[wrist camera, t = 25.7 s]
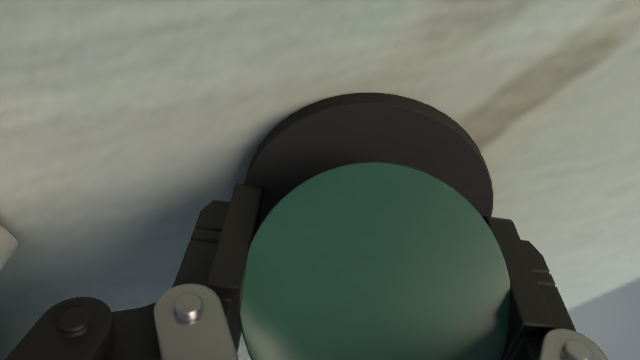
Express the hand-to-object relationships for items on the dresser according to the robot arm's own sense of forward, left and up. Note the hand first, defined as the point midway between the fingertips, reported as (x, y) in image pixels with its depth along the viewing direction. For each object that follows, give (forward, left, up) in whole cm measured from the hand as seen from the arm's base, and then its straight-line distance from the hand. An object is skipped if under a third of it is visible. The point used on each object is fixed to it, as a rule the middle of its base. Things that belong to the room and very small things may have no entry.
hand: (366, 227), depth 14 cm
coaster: (0, 0, -1) cm, 1 cm away
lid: (0, 0, +3) cm, 3 cm away
